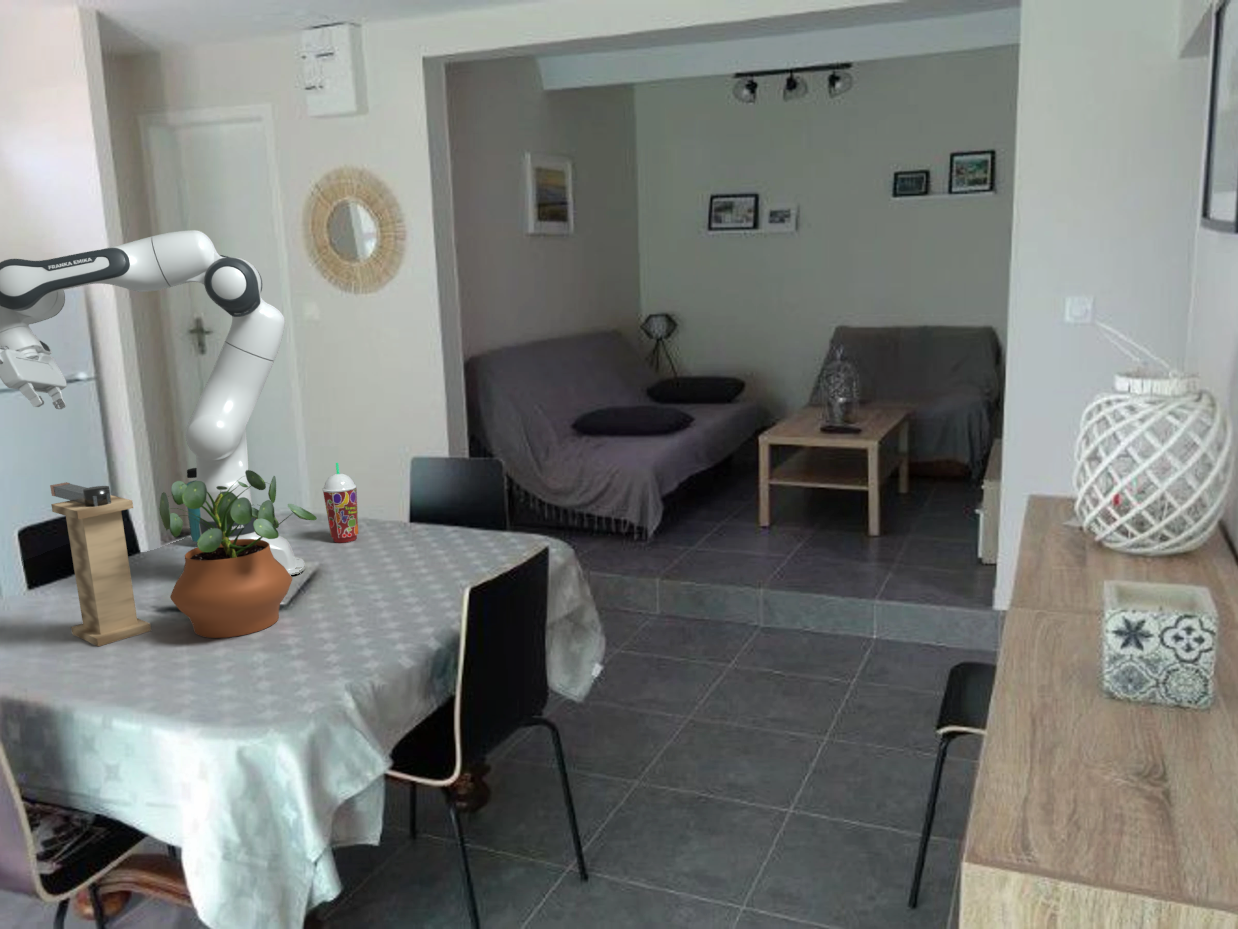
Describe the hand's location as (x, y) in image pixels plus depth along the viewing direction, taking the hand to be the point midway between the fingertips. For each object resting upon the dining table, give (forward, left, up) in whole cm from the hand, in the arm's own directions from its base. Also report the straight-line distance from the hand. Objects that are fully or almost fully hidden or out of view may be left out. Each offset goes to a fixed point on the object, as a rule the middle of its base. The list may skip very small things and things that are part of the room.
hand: (51, 406), depth 214 cm
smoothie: (-57, -24, -42) cm, 75 cm away
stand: (-9, +26, -42) cm, 51 cm away
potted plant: (-35, +33, -42) cm, 64 cm away
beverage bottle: (-23, -39, -42) cm, 62 cm away
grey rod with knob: (-7, +22, -16) cm, 28 cm away
